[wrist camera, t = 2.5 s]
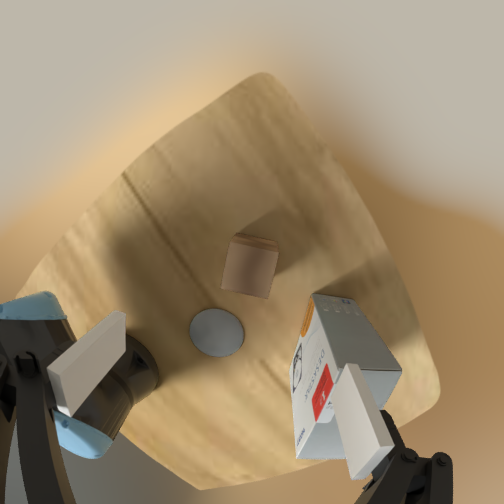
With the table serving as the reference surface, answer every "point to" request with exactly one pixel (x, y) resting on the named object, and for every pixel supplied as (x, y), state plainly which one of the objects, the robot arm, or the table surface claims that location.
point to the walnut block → (250, 265)
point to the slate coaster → (216, 332)
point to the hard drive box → (334, 371)
